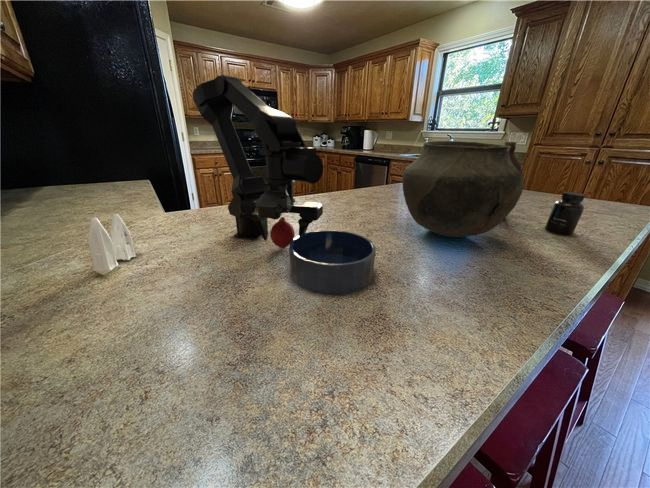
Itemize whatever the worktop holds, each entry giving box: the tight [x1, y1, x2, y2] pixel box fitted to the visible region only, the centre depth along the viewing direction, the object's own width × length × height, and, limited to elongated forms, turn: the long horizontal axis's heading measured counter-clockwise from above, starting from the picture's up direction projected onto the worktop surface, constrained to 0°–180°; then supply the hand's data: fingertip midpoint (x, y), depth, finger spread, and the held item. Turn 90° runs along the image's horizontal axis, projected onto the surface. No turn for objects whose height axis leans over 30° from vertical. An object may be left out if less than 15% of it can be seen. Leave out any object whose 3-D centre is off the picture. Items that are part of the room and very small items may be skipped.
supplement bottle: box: [544, 191, 586, 237], centre depth 80 cm, size 7×7×12 cm
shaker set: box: [87, 213, 136, 276], centre depth 54 cm, size 12×4×11 cm, turn 9°
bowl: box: [288, 229, 377, 295], centre depth 55 cm, size 17×17×6 cm
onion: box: [269, 216, 296, 249], centre depth 65 cm, size 6×6×8 cm
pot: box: [401, 140, 525, 238], centre depth 74 cm, size 29×32×25 cm
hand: (282, 241), depth 66 cm, fingers open, 9 cm apart
